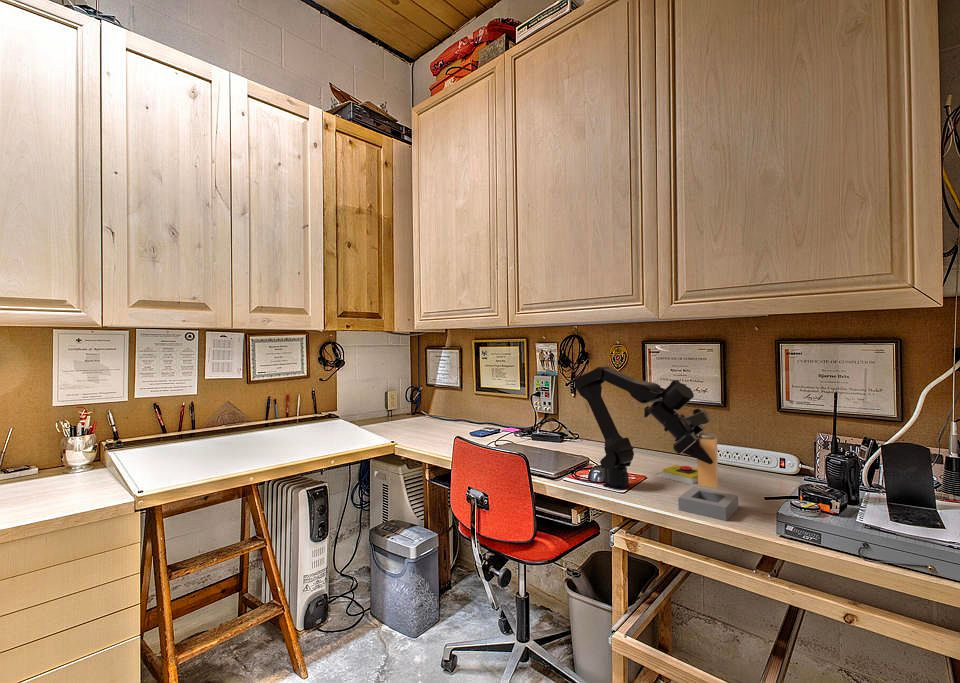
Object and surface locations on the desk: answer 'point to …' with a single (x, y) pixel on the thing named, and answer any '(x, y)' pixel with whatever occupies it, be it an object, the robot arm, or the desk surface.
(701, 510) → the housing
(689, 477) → the emergency button
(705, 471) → the orange bar
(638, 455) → the desk surface
